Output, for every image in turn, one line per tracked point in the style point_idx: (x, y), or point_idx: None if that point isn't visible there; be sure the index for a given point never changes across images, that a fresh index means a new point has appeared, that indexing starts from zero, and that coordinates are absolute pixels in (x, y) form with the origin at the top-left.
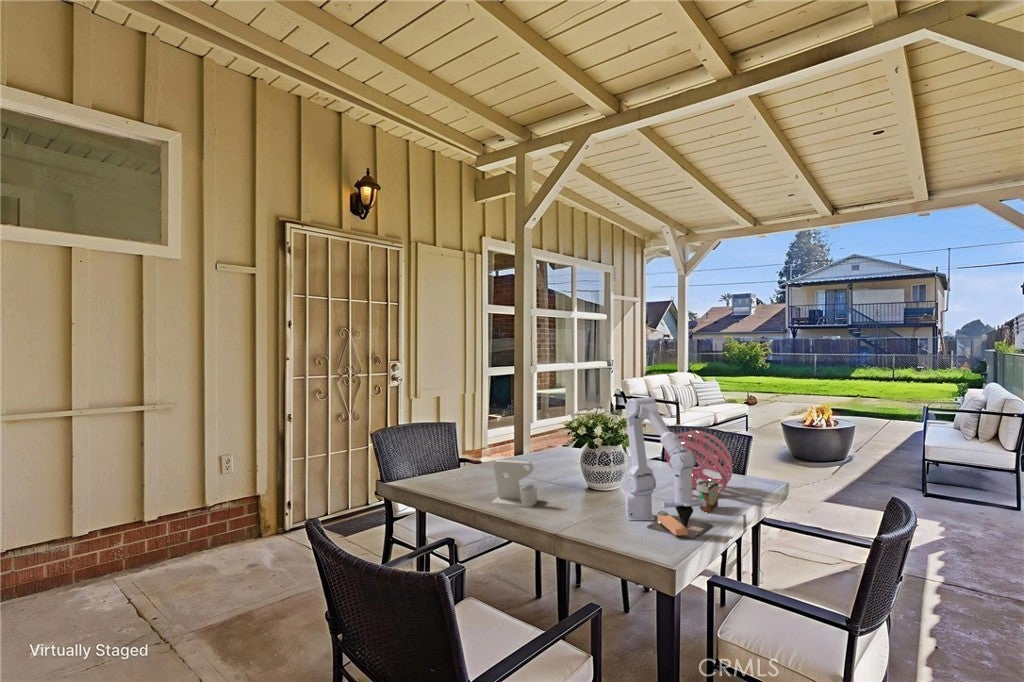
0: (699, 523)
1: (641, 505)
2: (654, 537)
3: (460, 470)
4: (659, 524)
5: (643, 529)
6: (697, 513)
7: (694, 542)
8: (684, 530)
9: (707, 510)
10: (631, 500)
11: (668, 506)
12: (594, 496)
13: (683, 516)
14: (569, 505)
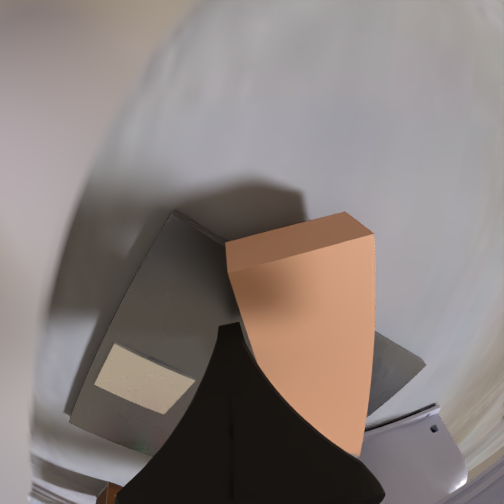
0: (128, 436)
1: (418, 473)
2: (450, 229)
3: (498, 449)
4: None
5: (443, 338)
6: None
7: (176, 139)
8: (262, 254)
9: (115, 492)
10: (455, 473)
11: (499, 471)
12: None
13: (283, 421)
14: (487, 422)
